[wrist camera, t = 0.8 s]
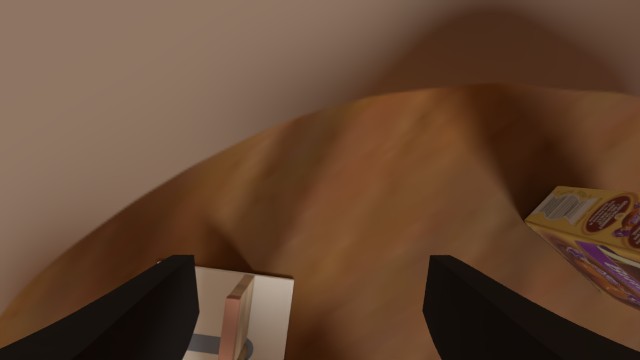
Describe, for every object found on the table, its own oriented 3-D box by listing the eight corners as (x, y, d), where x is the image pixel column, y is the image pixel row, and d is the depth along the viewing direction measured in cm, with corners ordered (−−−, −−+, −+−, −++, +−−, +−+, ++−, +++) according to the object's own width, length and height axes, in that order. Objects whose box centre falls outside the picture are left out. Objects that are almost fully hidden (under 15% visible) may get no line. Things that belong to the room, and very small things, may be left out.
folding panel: (247, 338, 25) (229, 376, 20) (236, 336, 25) (215, 374, 20) (255, 275, 25) (239, 299, 20) (244, 274, 25) (225, 298, 20)
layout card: (276, 412, 26) (276, 416, 26) (142, 394, 26) (140, 397, 26) (294, 279, 26) (293, 280, 25) (159, 261, 26) (156, 262, 25)
